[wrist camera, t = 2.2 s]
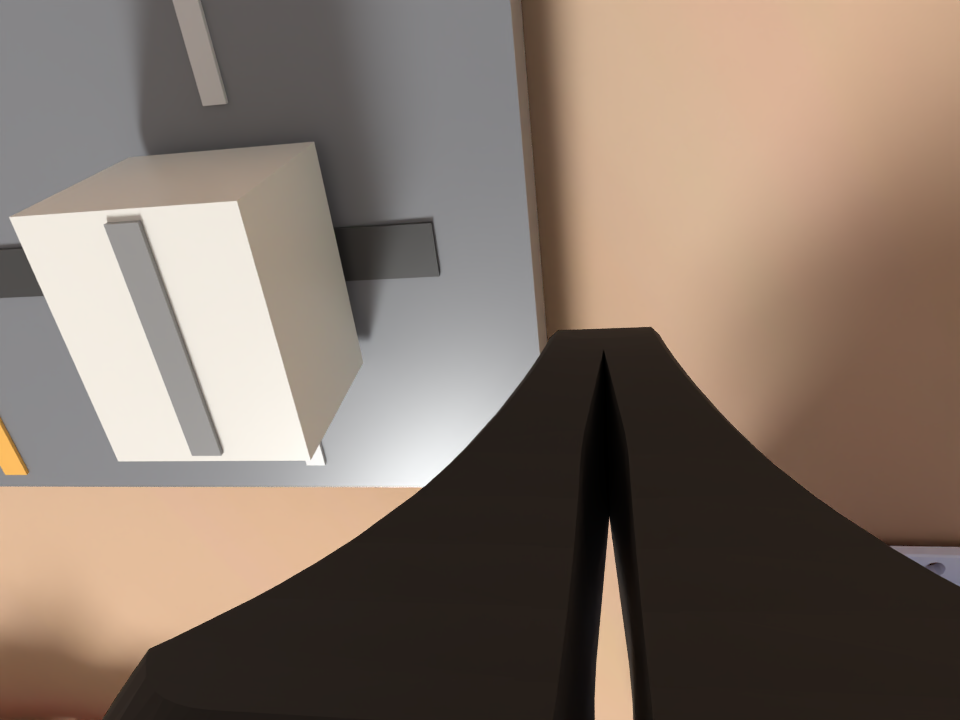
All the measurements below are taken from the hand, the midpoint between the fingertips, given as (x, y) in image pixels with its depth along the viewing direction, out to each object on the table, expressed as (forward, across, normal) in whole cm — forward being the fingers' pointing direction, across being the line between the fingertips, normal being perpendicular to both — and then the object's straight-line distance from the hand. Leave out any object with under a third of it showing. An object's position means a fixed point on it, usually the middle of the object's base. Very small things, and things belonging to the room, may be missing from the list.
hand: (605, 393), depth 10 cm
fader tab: (+5, +7, 0) cm, 9 cm away
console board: (+8, +12, 0) cm, 14 cm away
